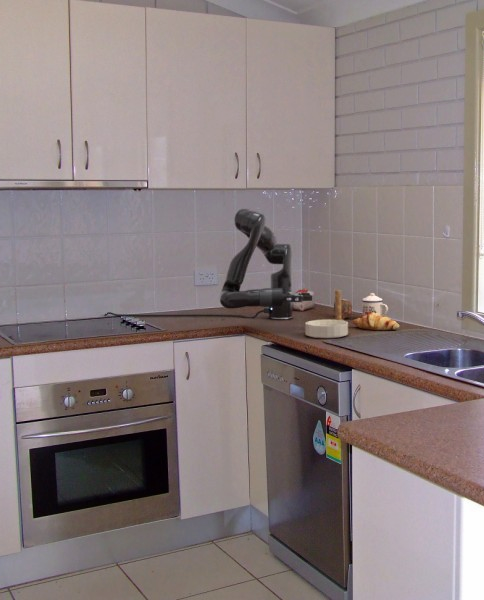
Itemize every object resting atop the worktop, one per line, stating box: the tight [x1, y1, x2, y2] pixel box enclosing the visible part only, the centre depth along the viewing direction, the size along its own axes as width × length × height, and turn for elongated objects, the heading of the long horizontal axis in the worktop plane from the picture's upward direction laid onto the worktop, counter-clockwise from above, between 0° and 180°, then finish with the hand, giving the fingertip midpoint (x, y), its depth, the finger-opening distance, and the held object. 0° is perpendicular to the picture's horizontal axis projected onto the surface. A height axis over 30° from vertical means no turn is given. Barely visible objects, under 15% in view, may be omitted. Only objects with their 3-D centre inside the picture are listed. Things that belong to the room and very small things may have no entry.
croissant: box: [351, 312, 400, 331], centre depth 343 cm, size 21×10×8 cm, turn 65°
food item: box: [292, 288, 316, 312], centre depth 401 cm, size 14×8×10 cm, turn 158°
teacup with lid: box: [361, 292, 389, 317], centre depth 367 cm, size 12×9×12 cm
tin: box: [333, 298, 353, 320], centre depth 374 cm, size 15×3×8 cm, turn 25°
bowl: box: [304, 319, 349, 339], centre depth 327 cm, size 17×17×5 cm
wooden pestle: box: [333, 289, 345, 321], centre depth 341 cm, size 4×4×16 cm
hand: (311, 296), depth 338 cm, fingers open, 8 cm apart
